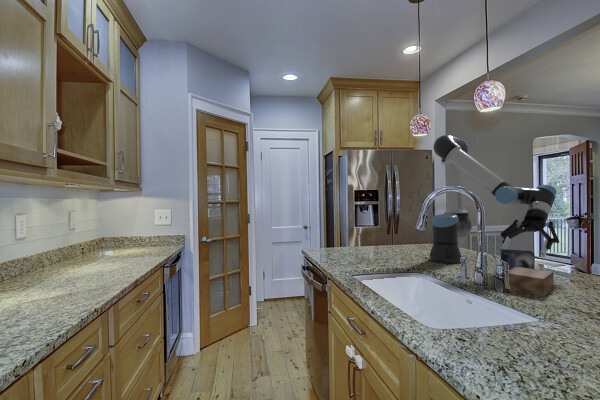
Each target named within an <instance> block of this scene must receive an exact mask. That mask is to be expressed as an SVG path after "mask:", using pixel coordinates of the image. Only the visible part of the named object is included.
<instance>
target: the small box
mask: <svg viewBox="0 0 600 400" xmlns="http://www.w3.org/2000/svg"><path fill="white" fill-rule="evenodd" d="M501 260H503V261H505V262H507V263H508V265H509V270H510V269H512V268H515V267H522V268H529V269H535V253H534V252H533V251H532V250H519V249H507V250H506V249H502V248H500V261H501Z"/></svg>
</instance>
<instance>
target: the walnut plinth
mask: <svg viewBox="0 0 600 400" xmlns="http://www.w3.org/2000/svg"><path fill="white" fill-rule="evenodd" d="M554 274H555V273H554V271H550V270H544V269H537V268H536V269H535V268H534V269H529V268H522V267H515V268H512V269H510V270H509V286H510V290H509V291H511V290H515V291H514V292H516V291H520V292H519V293H522V292H526V293H525V294H527V293H532V294H536V295H535V296H537V295H540V296H539V297H543V296H544V297H545V296H547V295H548V294H549V293H550V292H551V291H552V290H554V288H555V286H554V285H555V284H554V283H555V282H554V277H555V276H554ZM548 292H549V293H548ZM532 294H531V295H532Z"/></svg>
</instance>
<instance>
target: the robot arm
mask: <svg viewBox="0 0 600 400" xmlns="http://www.w3.org/2000/svg"><path fill="white" fill-rule="evenodd" d="M432 149H433V151H434V154H436V155H437V156H438V157H440V158H441V159H440V160H441V164H442V165H443V166H444V174H445V175H444V176H445V187H446V186H461V187H464V174H465V175H467V176H468V177H469V178H470V179H472V180H473V181H475V182H476V183H477V184H478V185H479V186H481V187H482V188H483V189H485V190H486V191H487V192H489V193H490V194H491V195H492V196H493V197H495V199H496V200H497V202H498V203H500V204H502V205H511V204H512V205H513V204H514V205H515V204H519V205H527V206H528V209H527V210H526V212H525V216H524V218H523V220H522V221H521V220H518V219H515V220H514V221H513V222H512V223H511V224H510V225H509V226H508V227H506V228H505V229H504V230H503V231H501V232H500V236H501V238H502V246H501V249H506V250H508V248H509V246H510V243H511V241H512V240H511V239H513V238H514V237H516V236H518V235H520V234H522V233H526V232H529V233H530V232H533V233H537V232H539V234H541V236H543V238H544V242H543V244H542V247H541V250H540V255H541V257H543V258H546V254H547V252H548V250H552V246H553V244H560V240H559V237H558V235H557V233H556V230H555V224H554V222H553V220H551V221H549V222H548V218H549V215H550V213H551V210H552V207H553V204H554V202H555V200H556V195H557V189H556V187H554V186H553V185H550V184H546V183H544V184H540V185H538V186H537V187H536V188H526V187H516V186H512V184H509V183H508V182H506V181H505V180H504V179H503V178H501V177H500V176H498V175H497V174H496V173H495V172H493V171H492V170H490V169H489V168H487V167H486V166H484V165H483V164H482V163H480V162H479V161H478V160H476V159H475V158H473V156H471V155H470V154H468V152H469V146H468V143H467V142H466V140H464V139H462V138H461V137H457V136H452V135H449V134H444V135H443V134H442V135H441V136H439V137H438V138H436V139H435V141H434V143H433V148H432ZM464 188H465V187H464ZM445 192H446V191H445ZM445 194H446V210H445V211H444V213H442V214H441V213H439V214H436V215H434V216H433V217H432V222H431V223H432V247H431V250H430V252H429V255H428V258H429V260H430V261H431V262H436V263H443V264H461V263H460V258H461V257H462V258H463V256H462V253H461V250H460V247H459V239H460V238H464V237H466V236H467V235H469V234H470V233H471V231H472V230H473V222H472V220H471V219H470V218H469V211H468V210H466V207H465V205H466V203H465V193H464V194H462V193H459V192H452V191H450V192H446V193H445ZM546 227H547V228H548V229H549V231H550V232H551V234H552V237H551V236H550V235H549V234H548V233H547V232H546V231H545V229H544V228H546Z"/></svg>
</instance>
